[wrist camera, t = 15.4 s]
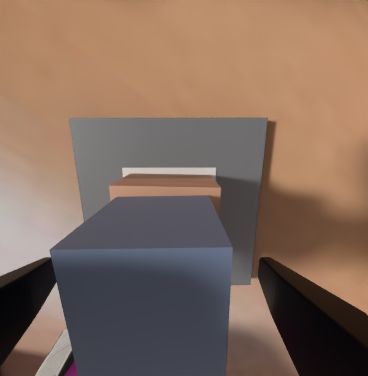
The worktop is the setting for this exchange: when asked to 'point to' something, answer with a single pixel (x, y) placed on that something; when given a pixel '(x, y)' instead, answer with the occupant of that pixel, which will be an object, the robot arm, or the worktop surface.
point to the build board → (178, 166)
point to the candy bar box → (59, 359)
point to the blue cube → (147, 288)
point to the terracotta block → (167, 186)
